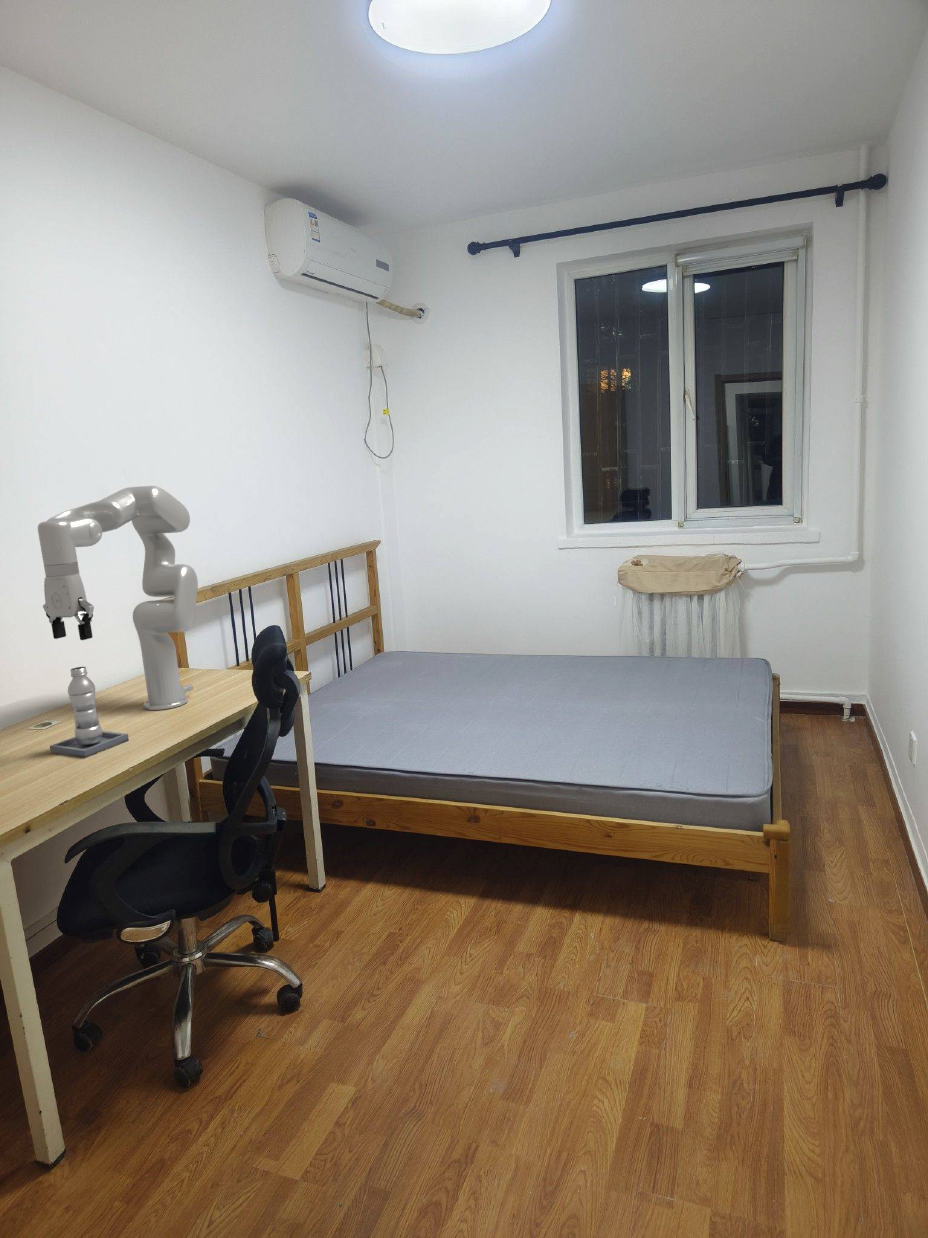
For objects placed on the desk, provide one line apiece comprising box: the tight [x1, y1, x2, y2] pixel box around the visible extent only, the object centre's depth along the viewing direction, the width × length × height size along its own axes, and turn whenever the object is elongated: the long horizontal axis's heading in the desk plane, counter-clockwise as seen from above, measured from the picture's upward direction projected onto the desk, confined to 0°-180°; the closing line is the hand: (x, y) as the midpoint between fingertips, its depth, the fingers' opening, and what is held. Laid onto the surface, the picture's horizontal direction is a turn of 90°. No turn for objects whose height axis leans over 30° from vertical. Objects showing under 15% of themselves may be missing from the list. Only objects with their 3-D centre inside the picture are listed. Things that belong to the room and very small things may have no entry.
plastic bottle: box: [67, 666, 103, 745], centre depth 201 cm, size 6×7×20 cm
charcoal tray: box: [49, 730, 130, 759], centre depth 202 cm, size 13×13×2 cm
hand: (73, 638), depth 197 cm, fingers open, 9 cm apart
